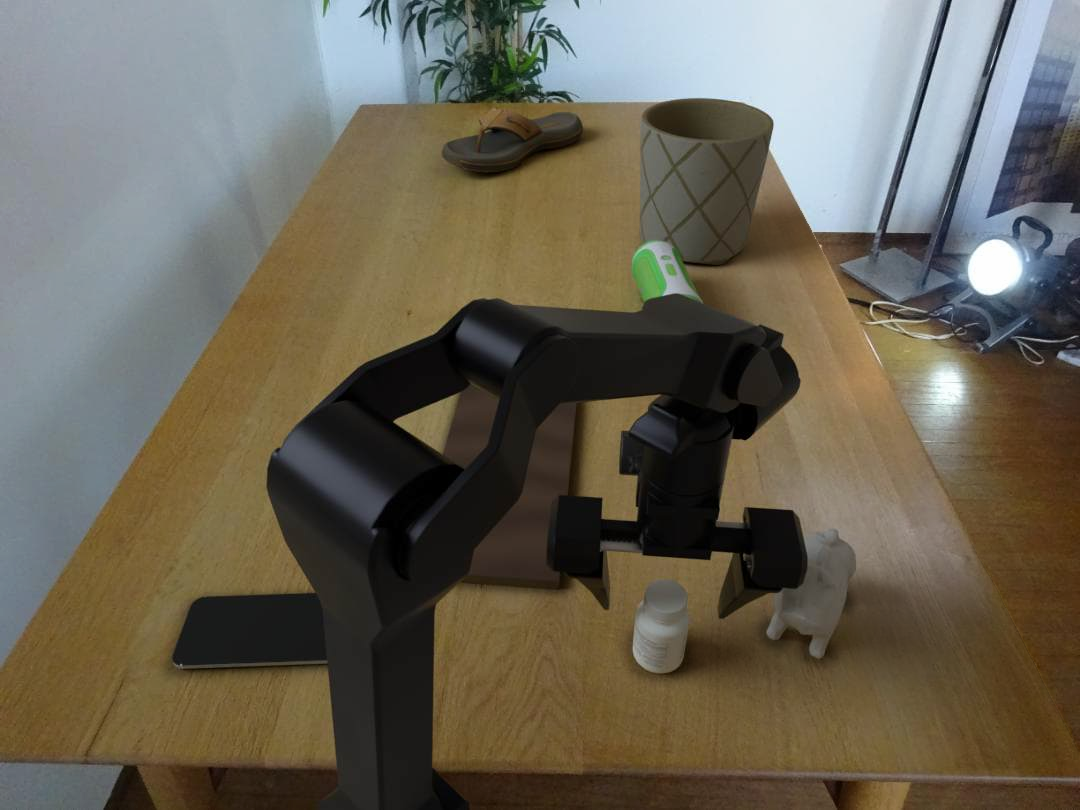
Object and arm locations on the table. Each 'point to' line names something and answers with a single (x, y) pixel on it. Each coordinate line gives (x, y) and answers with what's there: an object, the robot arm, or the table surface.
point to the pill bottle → (661, 627)
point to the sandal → (511, 140)
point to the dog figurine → (817, 592)
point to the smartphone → (252, 631)
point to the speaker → (661, 271)
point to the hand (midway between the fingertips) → (663, 609)
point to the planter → (701, 175)
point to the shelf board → (524, 529)
